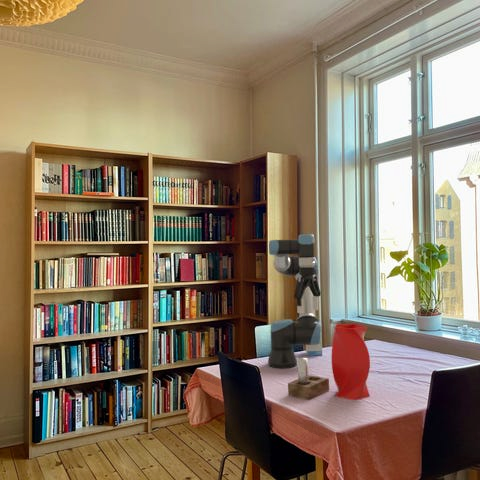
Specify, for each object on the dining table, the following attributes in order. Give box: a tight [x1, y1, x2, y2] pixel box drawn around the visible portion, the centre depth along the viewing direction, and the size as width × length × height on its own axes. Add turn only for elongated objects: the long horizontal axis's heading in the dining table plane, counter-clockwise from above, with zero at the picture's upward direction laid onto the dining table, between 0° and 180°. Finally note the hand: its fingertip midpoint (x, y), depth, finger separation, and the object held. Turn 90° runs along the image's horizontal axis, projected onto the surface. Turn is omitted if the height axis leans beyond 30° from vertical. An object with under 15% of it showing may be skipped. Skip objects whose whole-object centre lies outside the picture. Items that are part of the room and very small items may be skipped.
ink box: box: [305, 334, 323, 356], centre depth 267 cm, size 9×8×13 cm
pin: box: [297, 356, 309, 385], centre depth 190 cm, size 4×4×14 cm
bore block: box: [287, 374, 330, 401], centre depth 193 cm, size 10×16×5 cm, turn 140°
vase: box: [331, 323, 371, 401], centre depth 190 cm, size 15×14×28 cm
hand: (308, 311), depth 219 cm, fingers open, 13 cm apart
